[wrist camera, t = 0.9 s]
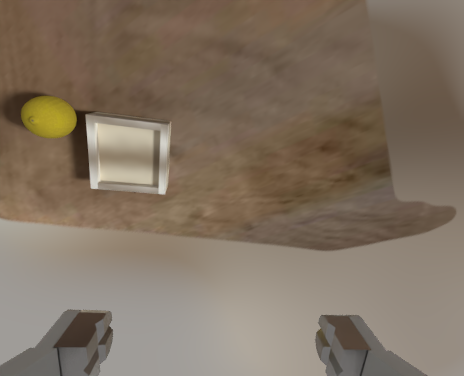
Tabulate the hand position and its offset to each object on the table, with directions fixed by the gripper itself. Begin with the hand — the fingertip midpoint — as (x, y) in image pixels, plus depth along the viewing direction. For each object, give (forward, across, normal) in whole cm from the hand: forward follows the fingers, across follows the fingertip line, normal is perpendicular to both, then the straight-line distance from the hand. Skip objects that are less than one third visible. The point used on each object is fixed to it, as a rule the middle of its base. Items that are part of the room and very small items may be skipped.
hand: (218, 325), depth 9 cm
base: (+33, +14, -2) cm, 36 cm away
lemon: (+32, +23, -7) cm, 40 cm away
